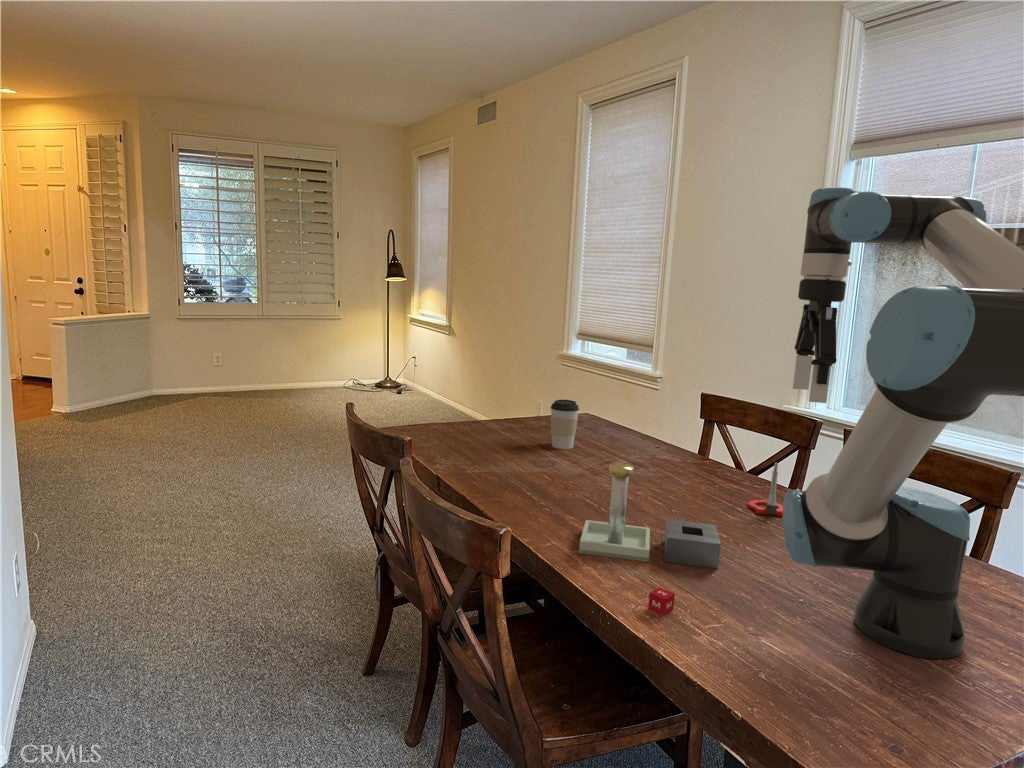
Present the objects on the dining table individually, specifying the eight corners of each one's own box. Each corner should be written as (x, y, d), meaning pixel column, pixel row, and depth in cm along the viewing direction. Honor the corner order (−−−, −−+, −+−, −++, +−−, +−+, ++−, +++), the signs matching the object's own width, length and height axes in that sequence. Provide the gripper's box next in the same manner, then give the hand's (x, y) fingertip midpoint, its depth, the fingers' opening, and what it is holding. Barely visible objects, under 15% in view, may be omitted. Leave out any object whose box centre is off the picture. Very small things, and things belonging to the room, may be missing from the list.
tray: (648, 562, 126) (649, 550, 126) (579, 552, 129) (579, 541, 129) (648, 538, 138) (649, 527, 137) (585, 530, 140) (585, 519, 140)
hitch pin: (626, 548, 130) (632, 471, 128) (602, 545, 131) (608, 468, 129) (627, 538, 135) (633, 464, 132) (604, 536, 136) (610, 462, 133)
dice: (648, 608, 109) (649, 592, 108) (658, 603, 111) (659, 586, 111) (663, 616, 107) (665, 599, 106) (673, 610, 109) (674, 593, 108)
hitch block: (718, 568, 125) (720, 544, 124) (665, 561, 127) (667, 537, 126) (713, 547, 135) (715, 524, 134) (664, 541, 137) (666, 518, 136)
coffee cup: (545, 448, 205) (547, 401, 202) (552, 441, 213) (554, 396, 210) (573, 451, 202) (576, 404, 199) (579, 444, 211) (582, 399, 208)
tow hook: (745, 503, 164) (752, 514, 155) (750, 453, 162) (758, 462, 153) (779, 506, 163) (789, 518, 154) (785, 456, 161) (795, 465, 152)
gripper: (868, 280, 103) (850, 410, 106) (827, 279, 127) (814, 385, 130) (817, 277, 104) (801, 406, 108) (787, 277, 128) (774, 382, 132)
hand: (808, 395), depth 119 cm, fingers open, 13 cm apart
